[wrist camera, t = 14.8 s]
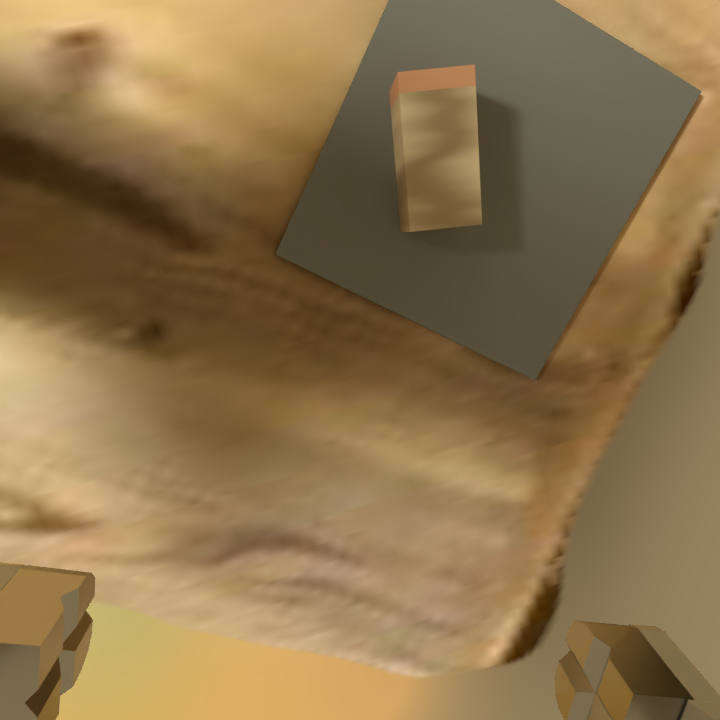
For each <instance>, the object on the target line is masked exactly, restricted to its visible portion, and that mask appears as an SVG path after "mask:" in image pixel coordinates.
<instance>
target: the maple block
mask: <svg viewBox="0 0 720 720" xmlns="http://www.w3.org/2000/svg"><path fill="white" fill-rule="evenodd" d="M389 95H390V107H391V119H392V131H393V144H394V156H395V168H396V180H397V193H398V205H399V217H400V229H401V232H414V231H424V230H433V229H443V228H452V227H461V226H471V225H480V224H482V210H481V188H480V166H479V144H478V122H477V100H476V78H475V64H474V65H464V66H454V67H444V68H433V69H423V70H413V71H403V72H397V75H396V77H395V80H394V82H393V84H392V87H391V89H390V91H389Z"/></svg>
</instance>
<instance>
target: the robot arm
mask: <svg viewBox="0 0 720 720" xmlns="http://www.w3.org/2000/svg"><path fill="white" fill-rule="evenodd" d="M94 593H95V577H94V575H93V574H92V573H89V572H80V571H72V570H64V569H56V568H47V567H39V566H31V565H27V566H25V565H20V564H11V563H1V562H0V720H55V719H56V718H57V716H58V714H59V702H60V695H62V694H63V693H65V692H66V691H67V690H69V689H70V688H72V687H73V686H74V684H75V682H76V679H77V678H78V676H79V673H80V671H81V669H82V667H83V664H84V661H85V658H86V655H87V652H88V649H89V644H90V639H91V634H92V623H93V620H92V618H91V617H90V615H89V614H88V613H87V612H86V609H87V608H88V606H89V604H90V602H91V601H92V599H93V597H94ZM566 642H567V644H568V646H569V649H570V652H569V653H568V654H566V655H565V656H564V657H563V658H562V659H561V660H559V663H558V666H557V670H556V674H555V696H556V699H557V703H558V707H559V710H560V712H561V714H562V716H563V718H564V720H720V695H719V694H718V693H717V692H716V691H715V689H714V688H713V687H712V686H711V685H710V684H709V682H708V681H707V680H706V679H705V678H704V677H703V676H702V674H701V673H700V672H699V671H698V670H697V669H696V668H695V666H694V665H693V664H692V663H691V662H690V660H689V659H688V658H687V657H686V656H685V655H684V653H683V652H682V651H681V650H680V649H679V648H678V647H677V646H676V644H675V643H674V642H673V641H672V640H671V638H670V637H669V636H668V635H667V634H666V633H665V632H664V631H662V630H661V629H659V628H657V627H655V626H641V625H628V626H627V625H616V624H605V623H594V622H583V621H575V622H574V623H573V624H572V625H571V627H570V628H569V631H568V634H567V637H566Z"/></svg>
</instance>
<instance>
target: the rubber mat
mask: <svg viewBox="0 0 720 720" xmlns="http://www.w3.org/2000/svg"><path fill="white" fill-rule="evenodd" d="M474 64H475V78H476V100H477V122H478V144H479V166H480V188H481V210H482V224H480V225H471V226H461V227H452V228H443V229H433V230H424V231H414V232H401V229H400V217H399V205H398V193H397V180H396V168H395V156H394V144H393V131H392V119H391V107H390V95H389V91H390V89H391V87H392V84H393V82H394V80H395V77H396V75H397V72H403V71H413V70H423V69H433V68H444V67H454V66H464V65H474ZM700 93H701V91H700V90H698V89H697V88H695V87H694V86H692V85H690V84H689V83H687V82H686V81H684V80H682V79H681V78H679V77H677V76H676V75H674V74H673V73H671V72H669V71H668V70H666V69H664V68H663V67H661V66H660V65H658V64H656V63H655V62H653V61H651V60H650V59H648V58H647V57H645V56H643V55H642V54H640V53H639V52H637V51H635V50H634V49H632V48H630V47H629V46H627V45H626V44H624V43H622V42H621V41H619V40H617V39H616V38H614V37H613V36H611V35H609V34H608V33H606V32H604V31H603V30H601V29H600V28H598V27H596V26H595V25H593V24H592V23H590V22H588V21H587V20H585V19H583V18H582V17H580V16H579V15H577V14H575V13H574V12H572V11H570V10H569V9H567V8H566V7H564V6H562V5H561V4H559V3H557V2H556V1H554V0H389V1H388V4H387V6H386V8H385V10H384V12H383V15H382V17H381V19H380V21H379V24H378V26H377V28H376V30H375V33H374V35H373V37H372V39H371V42H370V44H369V46H368V48H367V50H366V53H365V55H364V57H363V59H362V62H361V64H360V66H359V68H358V71H357V73H356V75H355V77H354V80H353V82H352V84H351V86H350V88H349V91H348V93H347V95H346V97H345V100H344V102H343V104H342V106H341V109H340V111H339V113H338V115H337V118H336V120H335V122H334V124H333V126H332V129H331V131H330V133H329V135H328V138H327V140H326V142H325V144H324V147H323V149H322V151H321V153H320V156H319V158H318V160H317V162H316V164H315V167H314V169H313V171H312V173H311V176H310V178H309V180H308V182H307V185H306V187H305V189H304V191H303V194H302V196H301V198H300V200H299V203H298V205H297V207H296V209H295V211H294V214H293V216H292V218H291V220H290V223H289V225H288V227H287V229H286V232H285V234H284V236H283V238H282V241H281V243H280V245H279V247H278V249H277V252H276V254H275V255H277V256H279V257H281V258H283V259H285V260H287V261H290V262H292V263H294V264H296V265H298V266H300V267H302V268H304V269H306V270H308V271H310V272H312V273H314V274H316V275H318V276H320V277H323V278H325V279H327V280H329V281H331V282H333V283H335V284H337V285H339V286H341V287H343V288H345V289H347V290H349V291H351V292H353V293H356V294H358V295H360V296H362V297H364V298H366V299H368V300H370V301H372V302H374V303H376V304H378V305H380V306H382V307H384V308H387V309H389V310H391V311H393V312H395V313H397V314H399V315H401V316H403V317H405V318H407V319H409V320H411V321H413V322H415V323H417V324H420V325H422V326H424V327H426V328H428V329H430V330H432V331H434V332H436V333H438V334H440V335H442V336H444V337H446V338H448V339H450V340H453V341H455V342H457V343H459V344H461V345H463V346H465V347H467V348H469V349H471V350H473V351H475V352H477V353H479V354H481V355H483V356H486V357H488V358H490V359H492V360H494V361H496V362H498V363H500V364H502V365H504V366H506V367H508V368H510V369H512V370H514V371H516V372H519V373H521V374H523V375H525V376H527V377H529V378H531V379H533V380H536V378H537V376H538V374H539V373H540V371H541V369H542V367H543V366H544V364H545V362H546V360H547V359H548V357H549V355H550V354H551V352H552V350H553V348H554V347H555V345H556V343H557V341H558V340H559V338H560V336H561V334H562V333H563V331H564V329H565V327H566V326H567V324H568V322H569V321H570V319H571V317H572V315H573V314H574V312H575V310H576V308H577V307H578V305H579V303H580V301H581V300H582V298H583V296H584V294H585V293H586V291H587V289H588V288H589V286H590V284H591V282H592V281H593V279H594V277H595V275H596V274H597V272H598V270H599V268H600V267H601V265H602V263H603V262H604V260H605V258H606V256H607V255H608V253H609V251H610V249H611V248H612V246H613V244H614V242H615V241H616V239H617V237H618V235H619V234H620V232H621V230H622V229H623V227H624V225H625V223H626V222H627V220H628V218H629V216H630V215H631V213H632V211H633V209H634V208H635V206H636V204H637V202H638V201H639V199H640V197H641V196H642V194H643V192H644V190H645V189H646V187H647V185H648V183H649V182H650V180H651V178H652V176H653V175H654V173H655V171H656V170H657V168H658V166H659V164H660V163H661V161H662V159H663V157H664V156H665V154H666V152H667V150H668V149H669V147H670V145H671V143H672V142H673V140H674V138H675V137H676V135H677V133H678V131H679V130H680V128H681V126H682V124H683V123H684V121H685V119H686V117H687V116H688V114H689V112H690V110H691V109H692V107H693V105H694V104H695V102H696V100H697V98H698V97H699V95H700Z"/></svg>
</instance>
